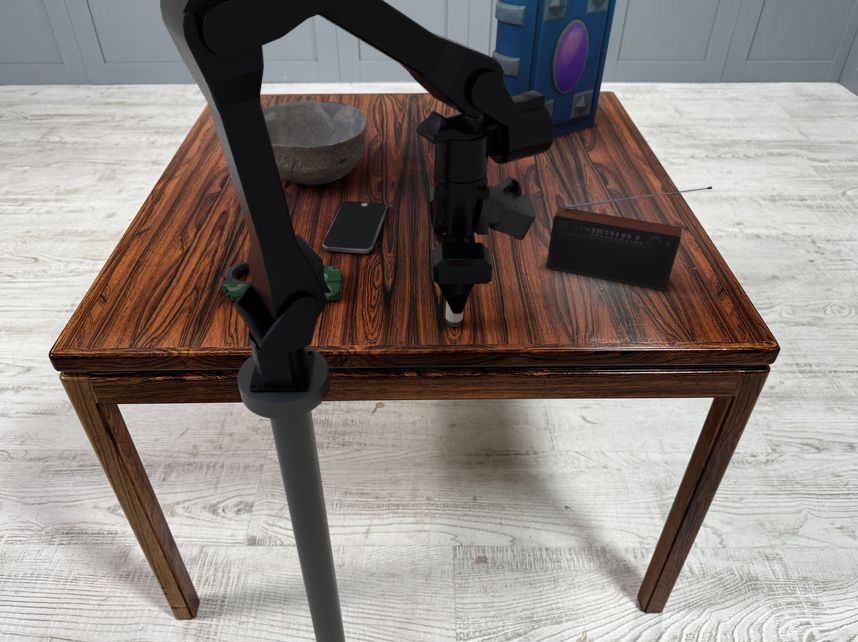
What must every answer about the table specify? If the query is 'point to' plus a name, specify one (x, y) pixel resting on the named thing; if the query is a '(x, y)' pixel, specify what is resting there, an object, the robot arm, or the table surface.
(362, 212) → the smartphone
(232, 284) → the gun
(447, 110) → the table surface
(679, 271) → the table surface
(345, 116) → the bowl
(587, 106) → the book
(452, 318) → the white cylinder
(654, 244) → the radio
